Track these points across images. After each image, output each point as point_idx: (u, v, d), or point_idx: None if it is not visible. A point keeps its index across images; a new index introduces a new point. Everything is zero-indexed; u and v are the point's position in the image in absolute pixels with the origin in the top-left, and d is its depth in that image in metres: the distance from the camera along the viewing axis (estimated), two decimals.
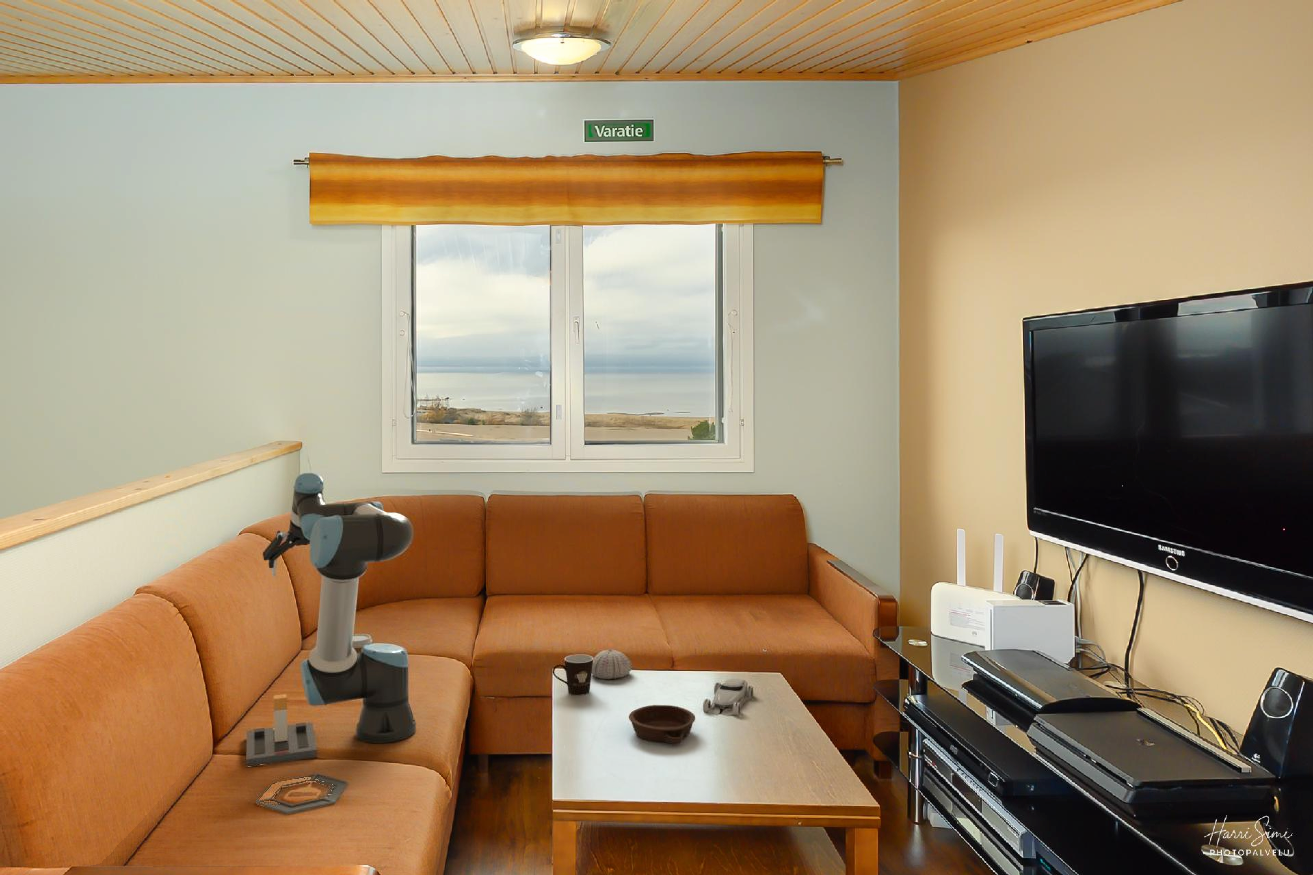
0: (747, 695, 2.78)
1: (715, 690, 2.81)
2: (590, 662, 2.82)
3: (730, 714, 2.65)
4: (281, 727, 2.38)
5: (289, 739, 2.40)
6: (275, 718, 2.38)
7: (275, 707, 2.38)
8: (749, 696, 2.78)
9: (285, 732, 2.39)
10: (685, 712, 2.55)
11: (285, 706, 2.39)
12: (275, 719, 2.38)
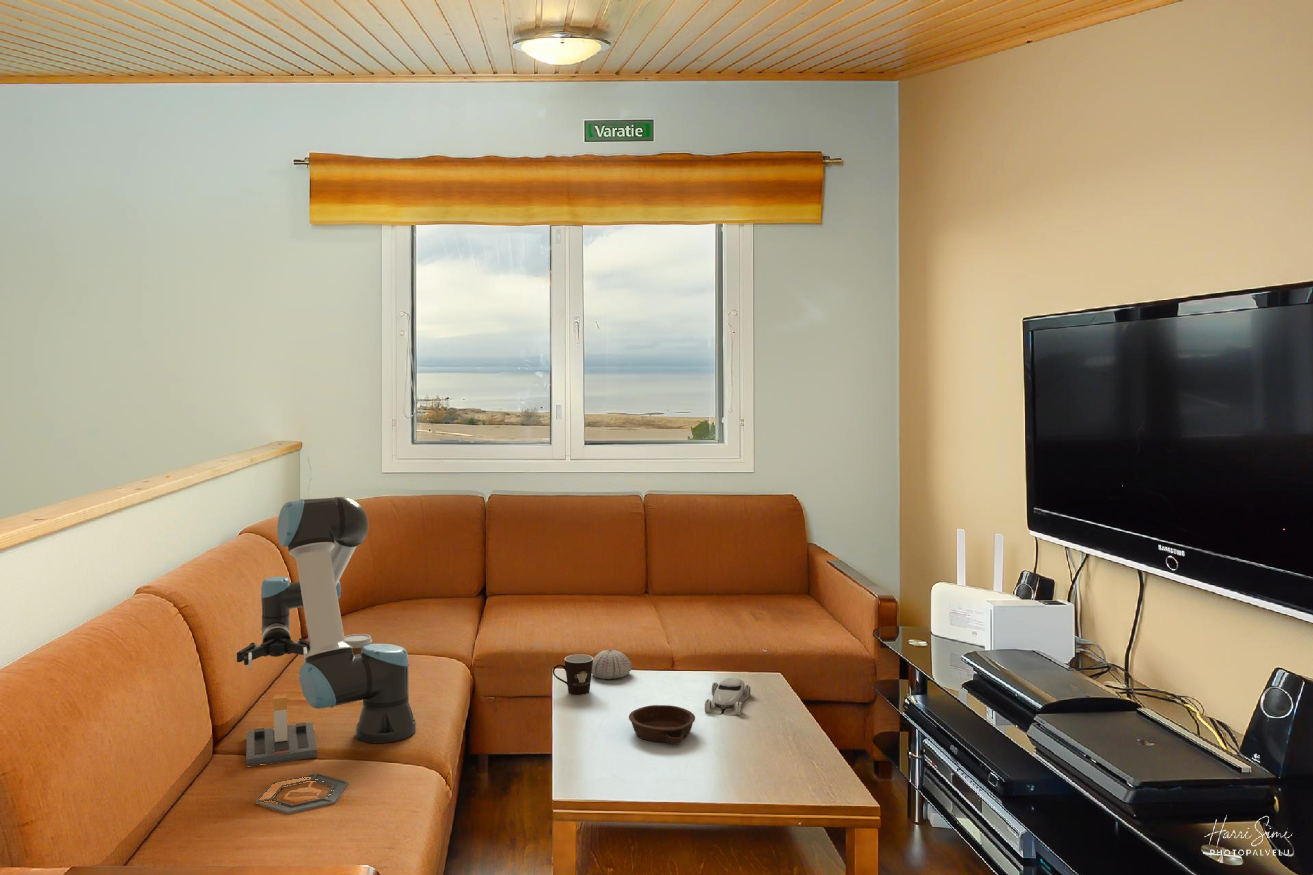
0: (745, 694, 2.79)
1: (713, 690, 2.81)
2: (590, 662, 2.82)
3: (732, 714, 2.65)
4: (281, 727, 2.38)
5: (289, 739, 2.40)
6: (275, 718, 2.38)
7: (275, 707, 2.38)
8: (747, 695, 2.79)
9: (285, 732, 2.39)
10: (685, 712, 2.55)
11: (285, 706, 2.39)
12: (275, 719, 2.38)
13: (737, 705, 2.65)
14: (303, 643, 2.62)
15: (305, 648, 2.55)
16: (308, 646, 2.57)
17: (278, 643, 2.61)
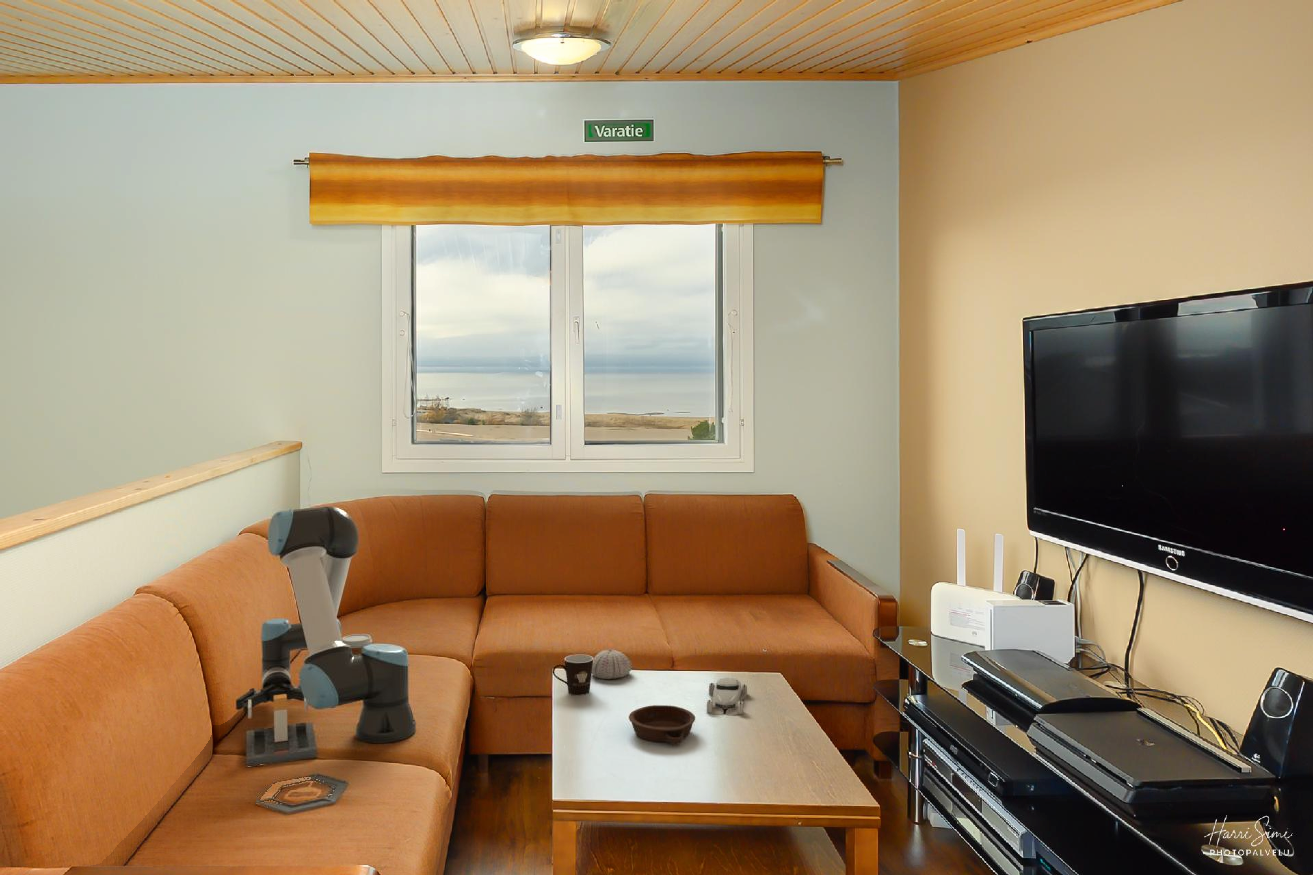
0: (743, 694, 2.79)
1: (710, 690, 2.81)
2: (590, 662, 2.82)
3: (735, 713, 2.65)
4: (281, 727, 2.38)
5: (289, 739, 2.40)
6: (275, 718, 2.38)
7: (275, 707, 2.38)
8: (745, 694, 2.79)
9: (285, 732, 2.39)
10: (685, 712, 2.55)
11: (285, 706, 2.39)
12: (275, 719, 2.38)
13: (739, 705, 2.65)
14: None
15: None
16: None
17: (278, 688, 2.57)
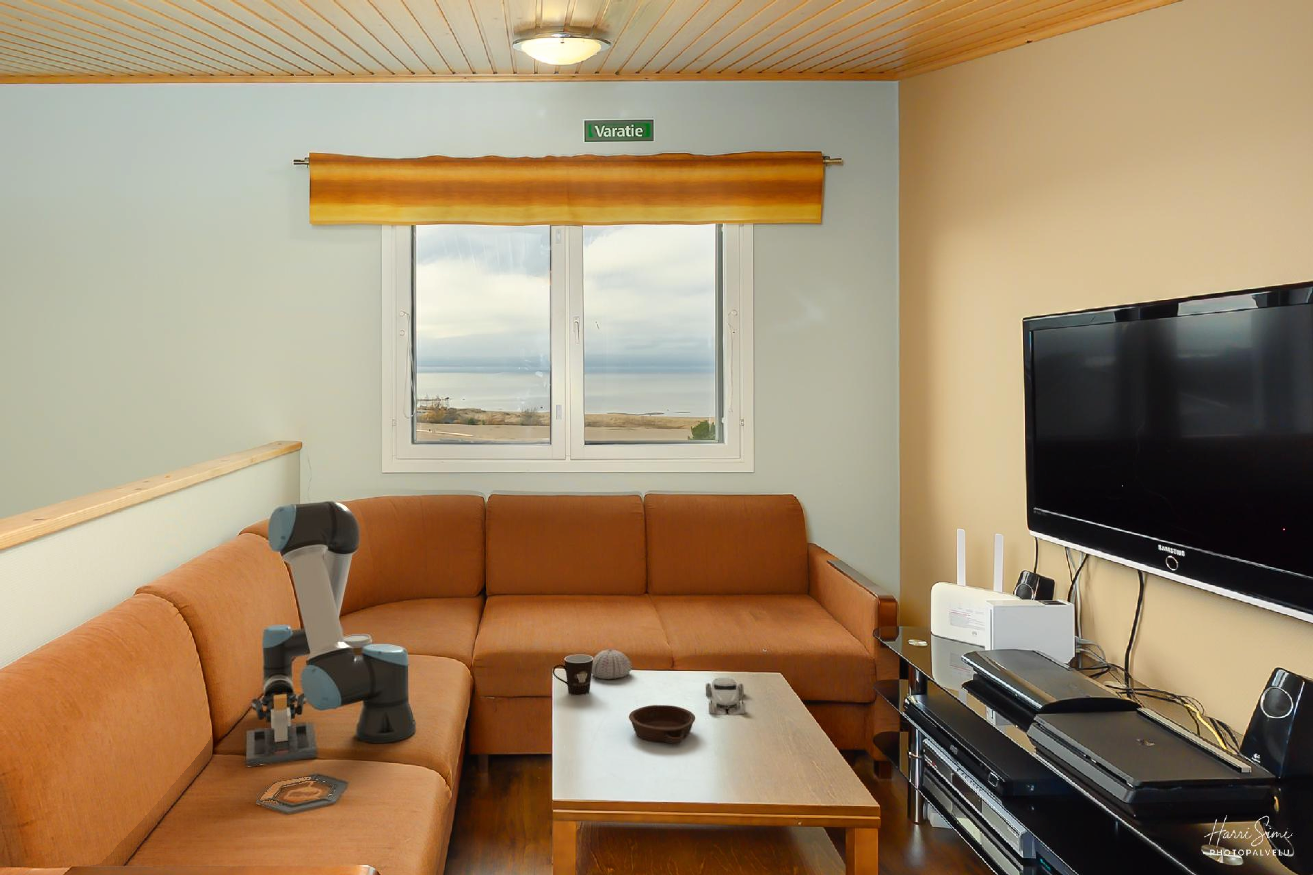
0: (740, 693, 2.80)
1: (707, 691, 2.80)
2: (590, 662, 2.82)
3: (737, 713, 2.65)
4: (281, 727, 2.38)
5: (289, 739, 2.40)
6: (275, 718, 2.38)
7: (275, 707, 2.38)
8: (742, 694, 2.80)
9: (285, 732, 2.39)
10: (685, 712, 2.55)
11: (285, 706, 2.39)
12: (275, 719, 2.38)
13: (742, 704, 2.66)
14: (297, 700, 2.48)
15: (288, 709, 2.40)
16: (290, 706, 2.42)
17: None
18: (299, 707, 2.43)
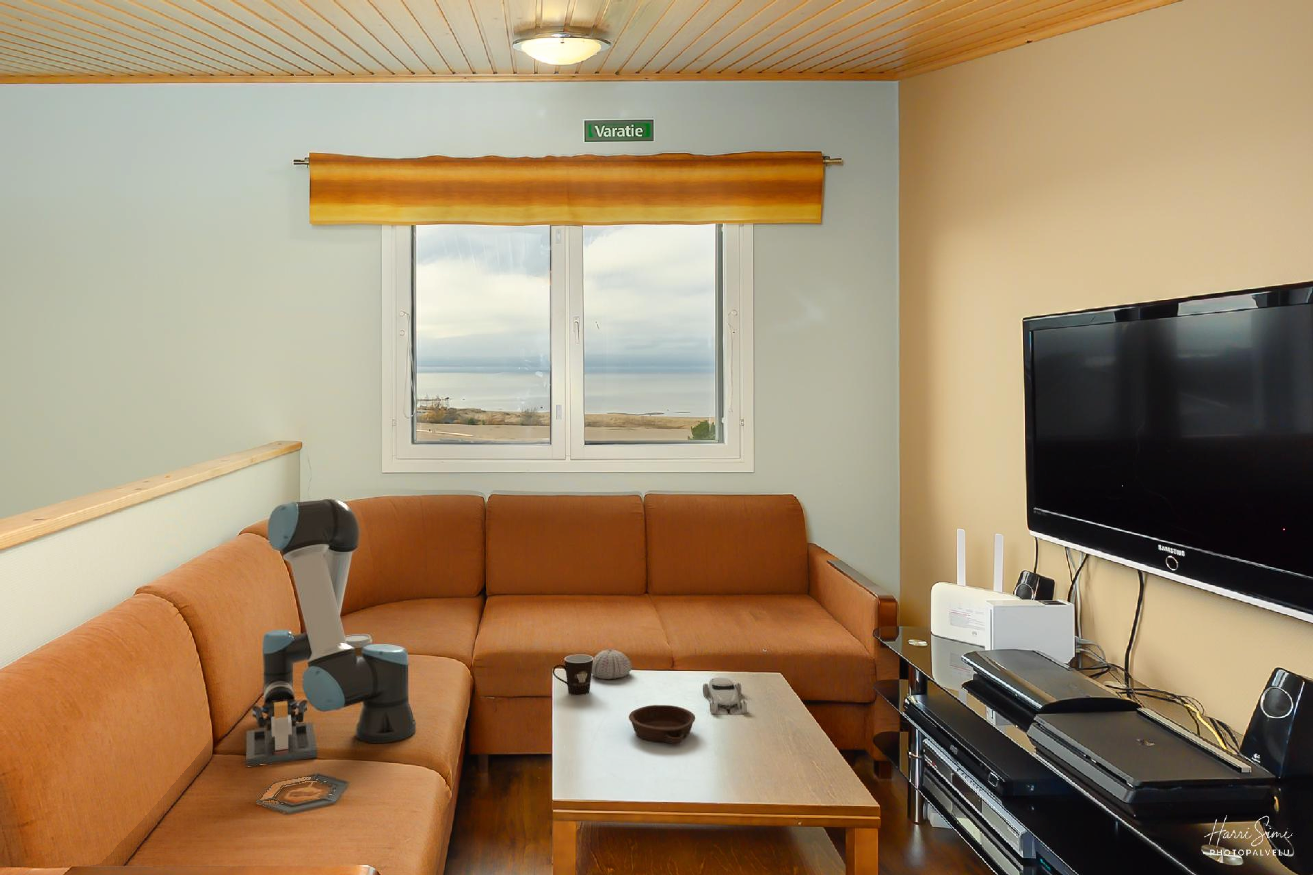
0: (738, 692, 2.80)
1: (705, 691, 2.80)
2: (590, 662, 2.82)
3: (739, 713, 2.66)
4: (282, 735, 2.33)
5: (289, 739, 2.40)
6: (276, 726, 2.32)
7: (276, 715, 2.32)
8: (740, 693, 2.80)
9: (286, 740, 2.34)
10: (685, 712, 2.55)
11: (286, 713, 2.33)
12: (276, 727, 2.32)
13: (743, 704, 2.66)
14: (298, 707, 2.43)
15: (289, 716, 2.35)
16: (291, 714, 2.36)
17: None
18: (300, 714, 2.38)
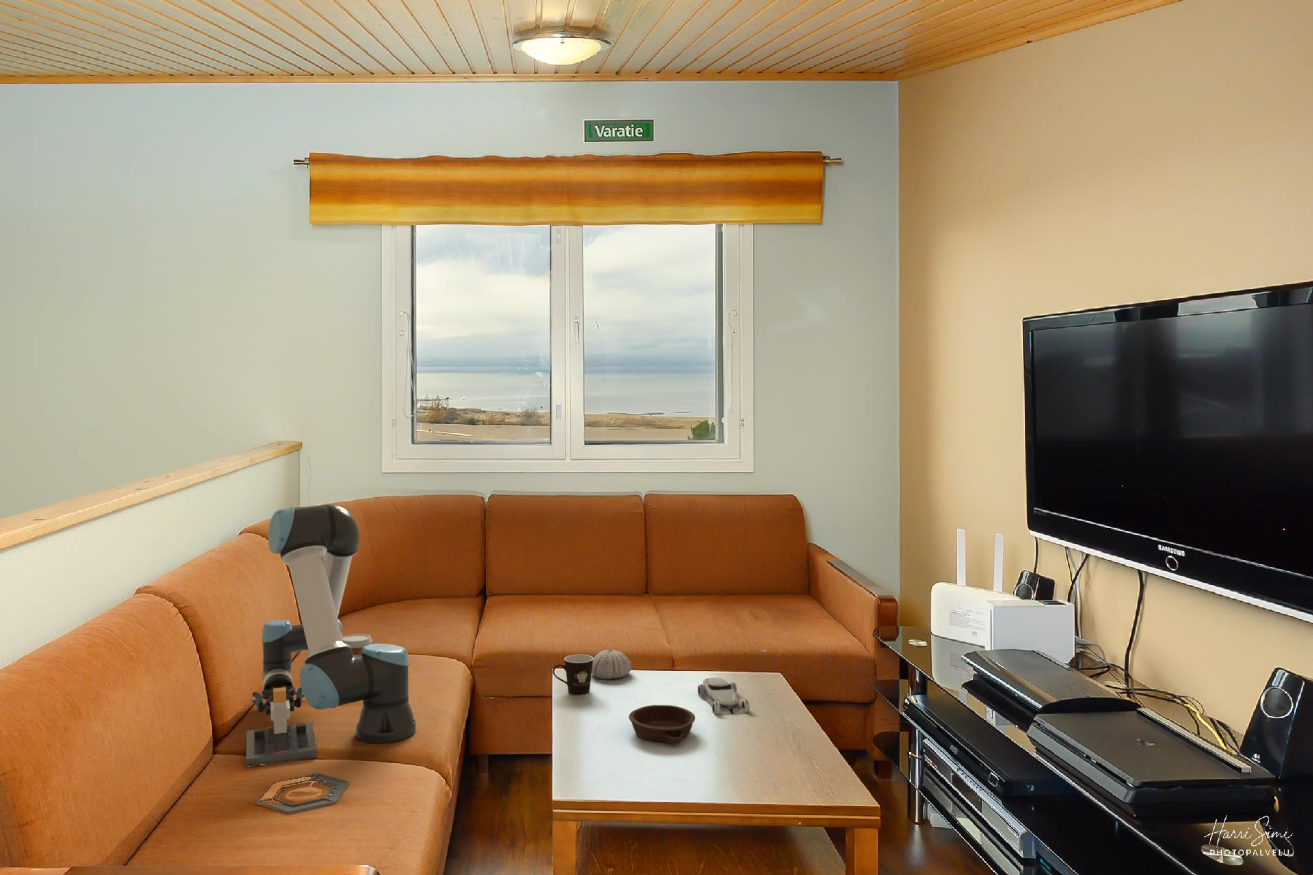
0: None
1: (702, 692, 2.79)
2: (590, 662, 2.82)
3: (742, 712, 2.66)
4: (280, 720, 2.44)
5: (289, 739, 2.40)
6: (275, 711, 2.43)
7: (275, 700, 2.43)
8: (735, 692, 2.81)
9: (284, 724, 2.44)
10: (685, 712, 2.55)
11: (284, 699, 2.44)
12: (275, 712, 2.43)
13: (746, 703, 2.67)
14: (296, 693, 2.54)
15: (287, 701, 2.45)
16: (289, 699, 2.47)
17: None
18: (298, 700, 2.48)
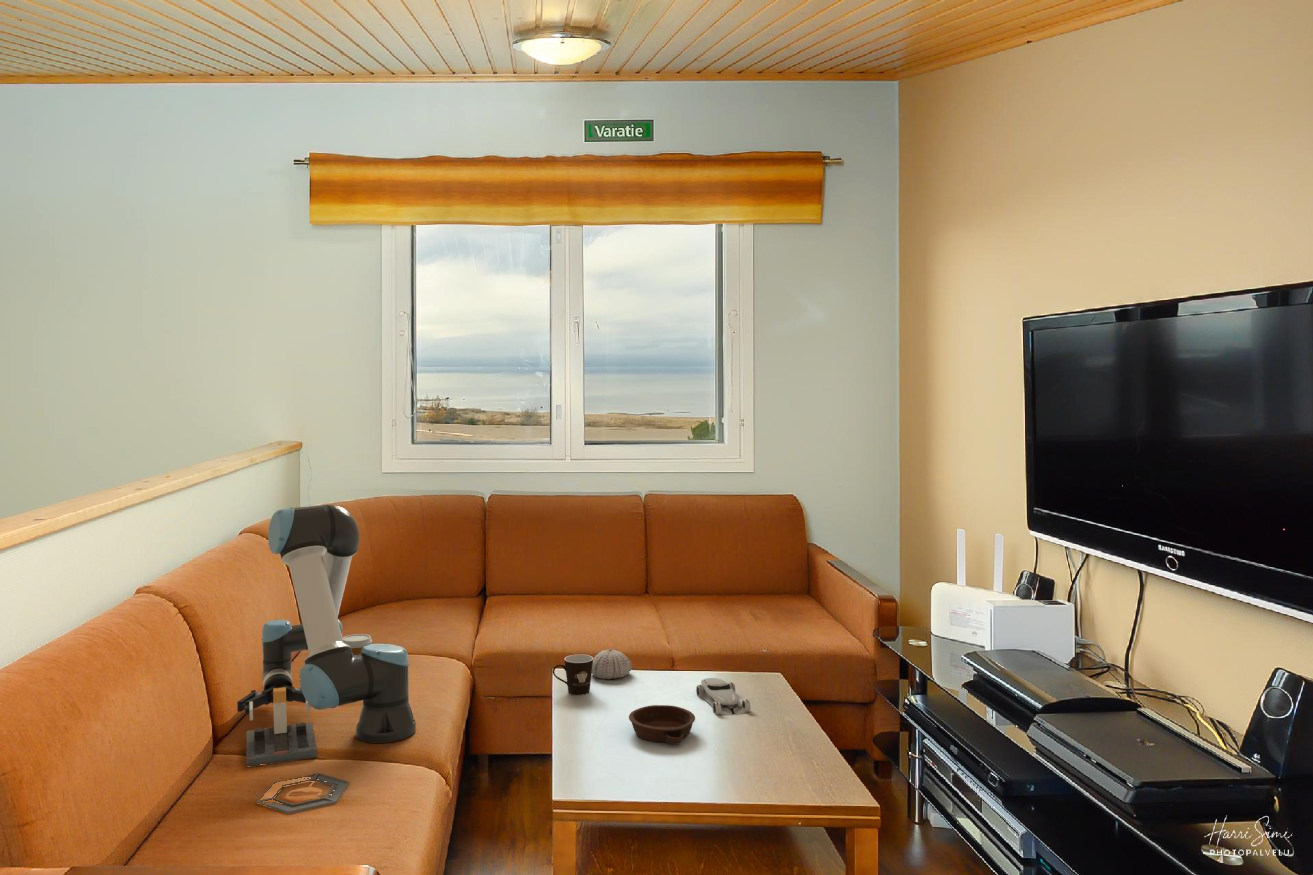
0: None
1: (701, 692, 2.79)
2: (590, 662, 2.82)
3: (743, 712, 2.66)
4: (281, 720, 2.44)
5: (289, 739, 2.40)
6: (275, 711, 2.43)
7: (275, 700, 2.43)
8: None
9: (284, 724, 2.44)
10: (685, 712, 2.55)
11: (284, 699, 2.44)
12: (275, 712, 2.43)
13: (747, 702, 2.67)
14: None
15: None
16: None
17: None
18: None
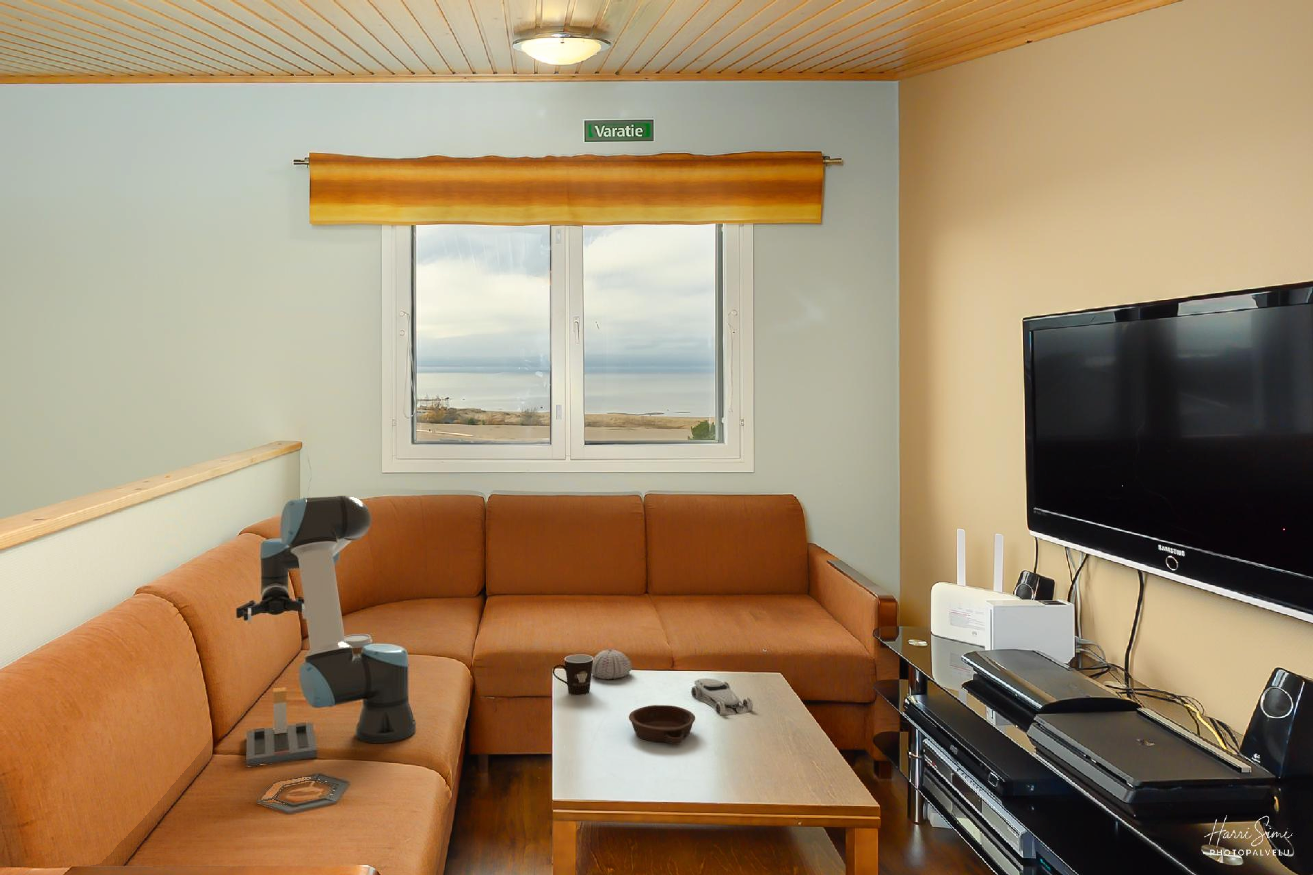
0: None
1: (697, 694, 2.78)
2: (590, 662, 2.82)
3: (746, 711, 2.67)
4: (281, 720, 2.44)
5: (289, 739, 2.40)
6: (275, 711, 2.43)
7: (275, 700, 2.43)
8: None
9: (284, 724, 2.44)
10: (685, 712, 2.55)
11: (284, 699, 2.44)
12: (275, 712, 2.43)
13: (749, 701, 2.68)
14: (301, 601, 2.67)
15: (303, 604, 2.60)
16: None
17: (277, 601, 2.65)
18: None
